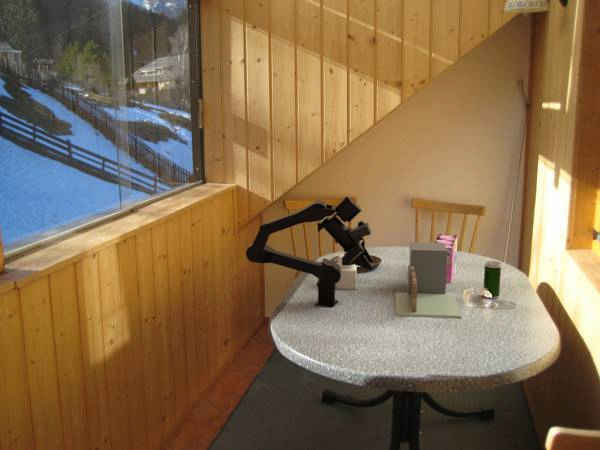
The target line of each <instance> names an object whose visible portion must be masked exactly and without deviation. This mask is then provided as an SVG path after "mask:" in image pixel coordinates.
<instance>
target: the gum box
mask: <svg viewBox="0 0 600 450" xmlns="http://www.w3.org/2000/svg"><path fill="white" fill-rule="evenodd" d="M433 243H444V244H445V247H446V249H447V265H446V284H451V283H452V282H453V280H454V279H453V278H454V276H455V273H456V269H457V263H458V262H457V260H458V259H457V253H458V235H457V234H453V236H452V235H443V234H442V233H438V234H437V236H436V238H435V240H434V242H433Z"/></svg>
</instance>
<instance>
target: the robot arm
mask: <svg viewBox="0 0 600 450" xmlns="http://www.w3.org/2000/svg"><path fill="white" fill-rule="evenodd" d="M361 212H362V208H361V207H360V206H359V204H358V203H357V202H356V201H354V200H353V199H351V198H350V197H349V196H348V195H346V196H345V197H343V199H342V200H341V202H340V203H338V204H337V205H333V204H327V203H326V202H324V201H323V200H321V199H320V200H315V201H313V202H312V203H310V204H308V205H306V206H305V207H303V208H301V209H300V210H298V211H296V212H292V213H289V214H287V215H284V216H282V217H278V218H276V219H272V220H270V221H267V222H266V221H264V222H263V223H262V224H261V225H260V226H259V230H258V232H257V234H256V236H255V238H254V240H253V242H252V243H251V244H250V245H249V246H248V248H247V249H246V251H245V257H246V258H247V260H248V261H249V262H251V263H254V264H255V263H256V264H275V265H278V266H281V267H285V268H289V269H292V270H294V271H299V272H301V273H306V274H308V275H312V276H314V277H315V278H317V283H316V286H317V301H316V302H314V304H315V305H314V304H313V305H314V306H318V305H323V306H322V307H326V306H328V307H327V308H333V307H335V305H336V304H338V303H339V300H338V299H336V283H338V282H339V280H340V278H341V272H342V270H341V267H340V265H339V264H337V263H335V261H330V260H331V259H329V258H328V259H327V258H326V257H323V258H322V261H313V260H311V259H307V258H303V257H301V256H298V255H297V256H296V255H292V254H290V253H285V252H282V251H278V250H275V248H273V247H271V246H270V245H269V244H267V243H268V241H269V238H270V235H272V234H274V233H277V232H279V231H282V230H283V231H284V230H286V229H288V228H292V227H293V226H297V225H300V224H304V223H315V222H317V223H316V225H317V232H318V233H319V232H321V231H322V229H323V230H324V231H325V232H327V234H328V235H330V236H331V238H332V239H333V240H334V243H335V244H338V245H339V246H340V247H341V248H342V249H343V251H342V252H344V253H345V260H346V261H347V262H348V263H349V262H350V263H353V264H355V265H358V266H361V267H363V268H366V269H368V270H370V271H369V272H371V271H373V270H372V269H373V267H372V266H371V264H370V263H372V262H373V260H372V258H371V256H370V252H368V250H367V248H366V242H365V241H366V239H365V238H364V237H367V236H370V235H371V234H372V230H371V228H370V225H369V223H368V222H364V221H363V220H360V221H359V222H357V226H355V227H354V228H351V227H350V226H346V225H345V224H344V223H347V222H348V223H350V222H352V220H353V219H355V217H357V216H358V215H359V214H360V213H361ZM319 221H320V222H319Z"/></svg>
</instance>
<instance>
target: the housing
mask: <svg viewBox="0 0 600 450" xmlns="http://www.w3.org/2000/svg"><path fill="white" fill-rule="evenodd" d="M446 265H447V249H446V247H445V244H444V243H434V242H428V241H427V242H424V241H423V242H422V241H421V242H420V241H418V242H416V241H410V242H409V264H408V267H407V288H406V289H407V292H396V291H395V311H396V316H398V317H425V318H426V317H427V318H452V319H461V318H463V317H462V313H461V309H460V308H459V304H458V301H457V299H456V295H455V294H454V293H453V294H452V293H446V287H447V286H446V285H447V283H446ZM411 269H415V273H416V279H417V311H412V303H411V295H410V291H411Z"/></svg>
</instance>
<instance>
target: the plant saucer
mask: <svg viewBox="0 0 600 450" xmlns="http://www.w3.org/2000/svg"><path fill="white" fill-rule="evenodd" d="M369 255H370V254H369ZM338 256H339V255H337V256H334V257H332V258H331V259H329V260H330V261H335V263H338ZM370 256H371V258H372V260H373V262H372V263H370V264H371V266H372V267H373V269H372V270H371V271H373V270H375V269H377V268H378V267H379V266H380V264H381V263H382V258H380V257H378V256H375V255H370ZM366 271H367V272H371V271H370V270H368V269H366V268H363V267H361V266H360V267H359V266H358V267H357V273H367V272H366Z"/></svg>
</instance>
